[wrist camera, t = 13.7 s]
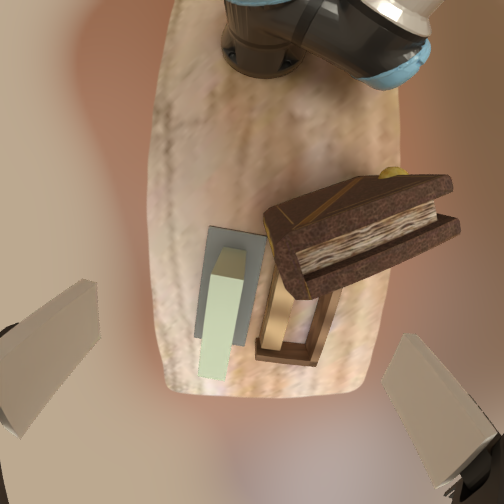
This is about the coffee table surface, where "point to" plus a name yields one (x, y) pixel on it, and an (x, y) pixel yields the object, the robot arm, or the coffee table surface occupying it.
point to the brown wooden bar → (276, 314)
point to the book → (356, 229)
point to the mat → (253, 263)
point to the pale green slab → (221, 313)
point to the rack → (315, 340)
